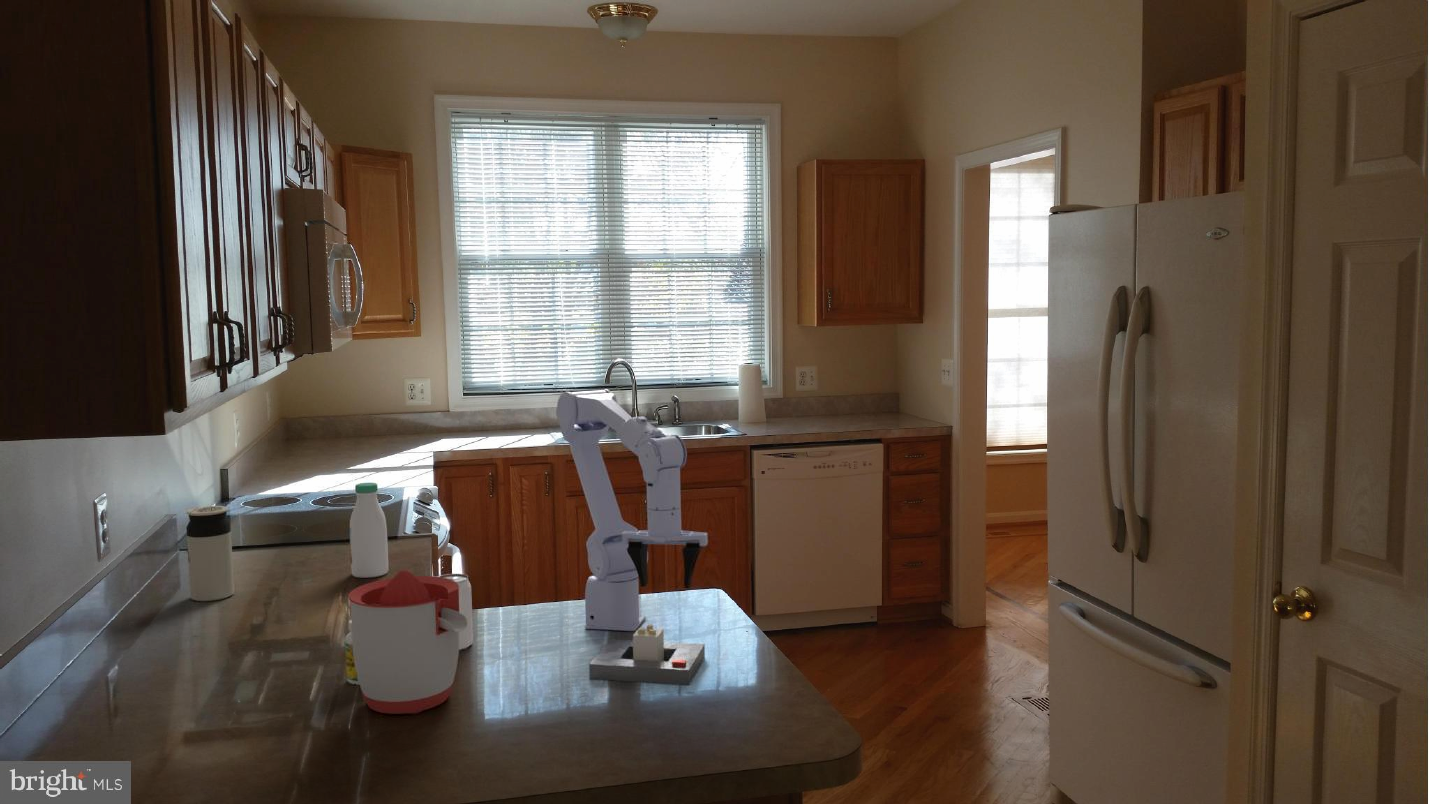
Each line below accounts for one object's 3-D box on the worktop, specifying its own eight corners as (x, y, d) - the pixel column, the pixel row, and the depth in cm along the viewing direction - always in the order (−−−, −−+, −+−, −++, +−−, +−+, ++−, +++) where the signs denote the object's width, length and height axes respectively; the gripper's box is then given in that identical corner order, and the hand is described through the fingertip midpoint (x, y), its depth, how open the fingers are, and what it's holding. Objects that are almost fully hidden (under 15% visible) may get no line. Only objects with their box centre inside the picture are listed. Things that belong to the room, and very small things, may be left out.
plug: (633, 671, 163) (632, 630, 162) (640, 663, 167) (639, 622, 166) (657, 673, 162) (657, 631, 162) (664, 664, 166) (663, 624, 165)
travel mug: (241, 590, 212) (236, 505, 210) (223, 601, 204) (218, 513, 202) (202, 591, 211) (196, 505, 210) (183, 602, 203) (177, 513, 202)
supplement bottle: (390, 677, 162) (387, 618, 161) (361, 688, 157) (358, 627, 156) (368, 671, 165) (365, 612, 164) (339, 681, 160) (336, 621, 159)
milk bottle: (396, 572, 225) (392, 482, 223) (367, 580, 218) (363, 488, 216) (372, 567, 229) (369, 479, 227) (344, 575, 222) (339, 485, 220)
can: (480, 645, 176) (478, 577, 175) (447, 655, 172) (445, 585, 170) (459, 637, 181) (457, 570, 180) (427, 646, 176) (424, 578, 175)
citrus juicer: (436, 729, 142) (431, 588, 140) (330, 715, 147) (323, 579, 145) (492, 688, 157) (488, 560, 155) (394, 677, 162) (389, 553, 160)
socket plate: (589, 678, 160) (589, 660, 160) (611, 652, 172) (611, 635, 171) (689, 685, 157) (688, 666, 157) (704, 658, 169) (704, 640, 168)
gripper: (616, 511, 171) (618, 590, 172) (701, 512, 168) (702, 593, 169) (627, 503, 177) (629, 580, 179) (709, 504, 175) (711, 582, 176)
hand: (665, 586), depth 174 cm, fingers open, 7 cm apart
